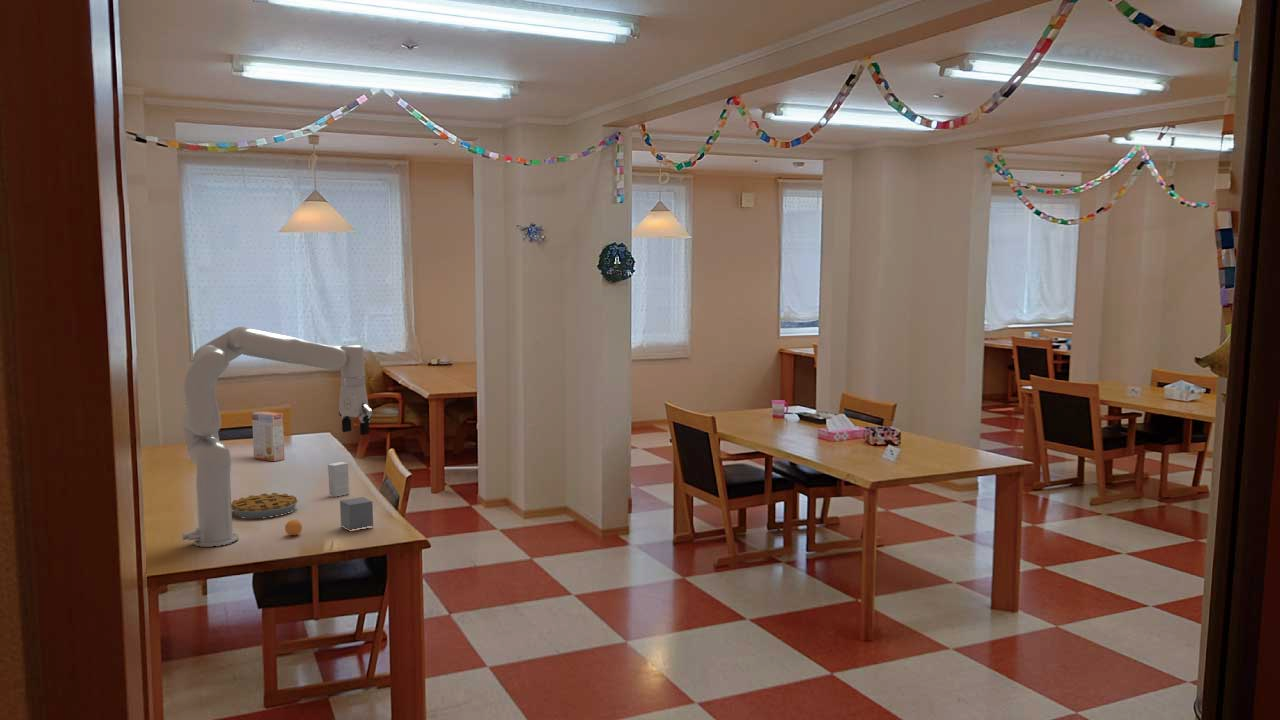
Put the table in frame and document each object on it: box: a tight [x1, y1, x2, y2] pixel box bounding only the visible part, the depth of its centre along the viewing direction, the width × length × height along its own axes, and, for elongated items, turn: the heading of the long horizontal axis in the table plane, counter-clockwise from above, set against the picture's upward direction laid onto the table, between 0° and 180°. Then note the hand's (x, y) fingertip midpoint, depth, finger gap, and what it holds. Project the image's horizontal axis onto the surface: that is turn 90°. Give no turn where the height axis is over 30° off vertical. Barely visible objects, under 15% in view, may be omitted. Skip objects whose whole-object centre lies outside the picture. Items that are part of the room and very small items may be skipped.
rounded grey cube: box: [339, 496, 374, 530], centre depth 307 cm, size 8×8×9 cm
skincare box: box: [327, 461, 350, 498], centre depth 351 cm, size 6×4×12 cm
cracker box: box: [251, 410, 285, 462], centre depth 417 cm, size 14×6×21 cm, turn 58°
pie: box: [231, 492, 299, 519], centre depth 328 cm, size 22×22×5 cm
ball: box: [284, 519, 303, 536], centre depth 299 cm, size 5×5×5 cm
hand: (355, 432), depth 316 cm, fingers open, 9 cm apart
